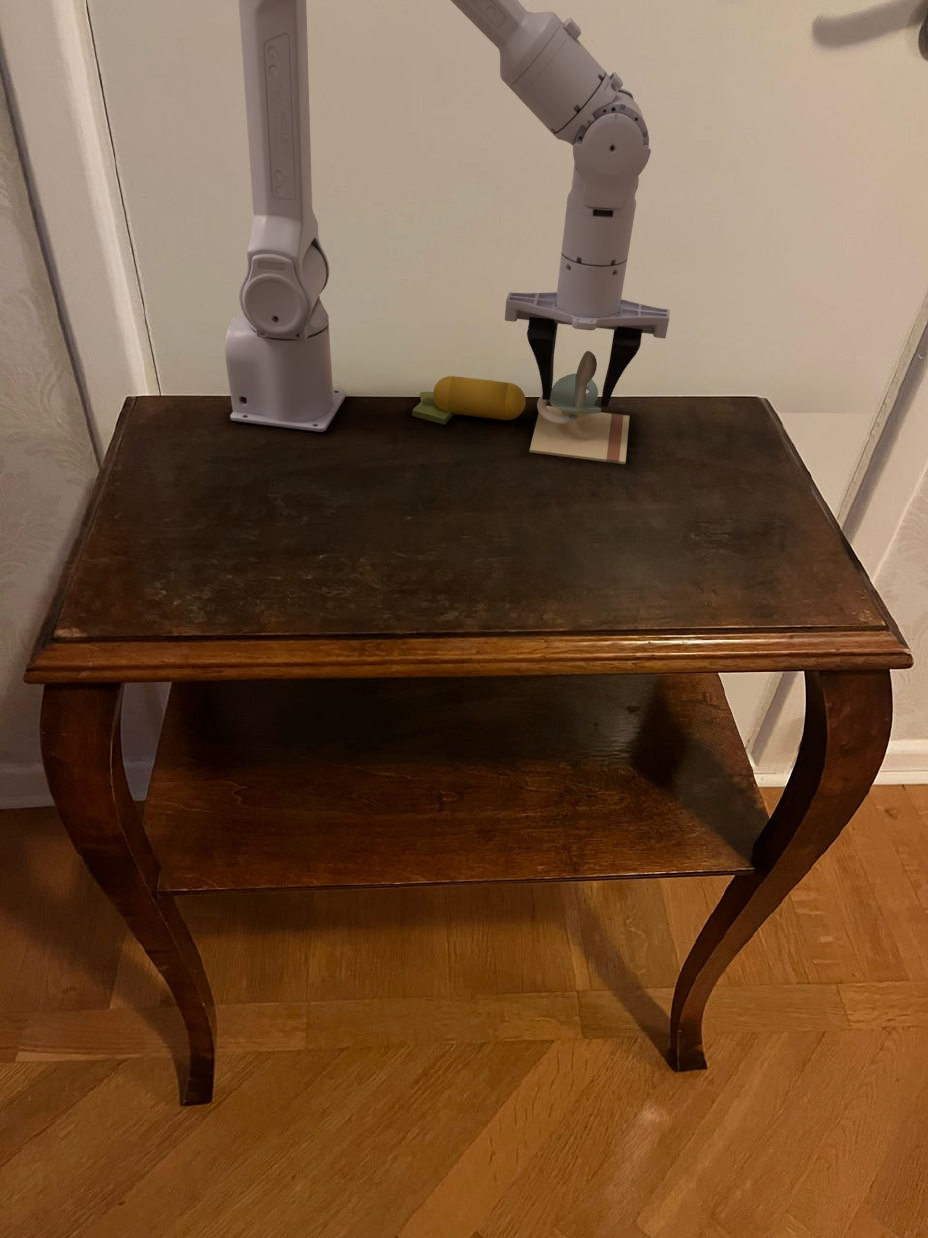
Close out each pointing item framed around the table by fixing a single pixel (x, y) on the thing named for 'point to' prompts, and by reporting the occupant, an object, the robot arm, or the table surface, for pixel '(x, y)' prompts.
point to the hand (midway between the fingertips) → (575, 398)
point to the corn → (470, 400)
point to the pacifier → (573, 394)
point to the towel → (583, 437)
